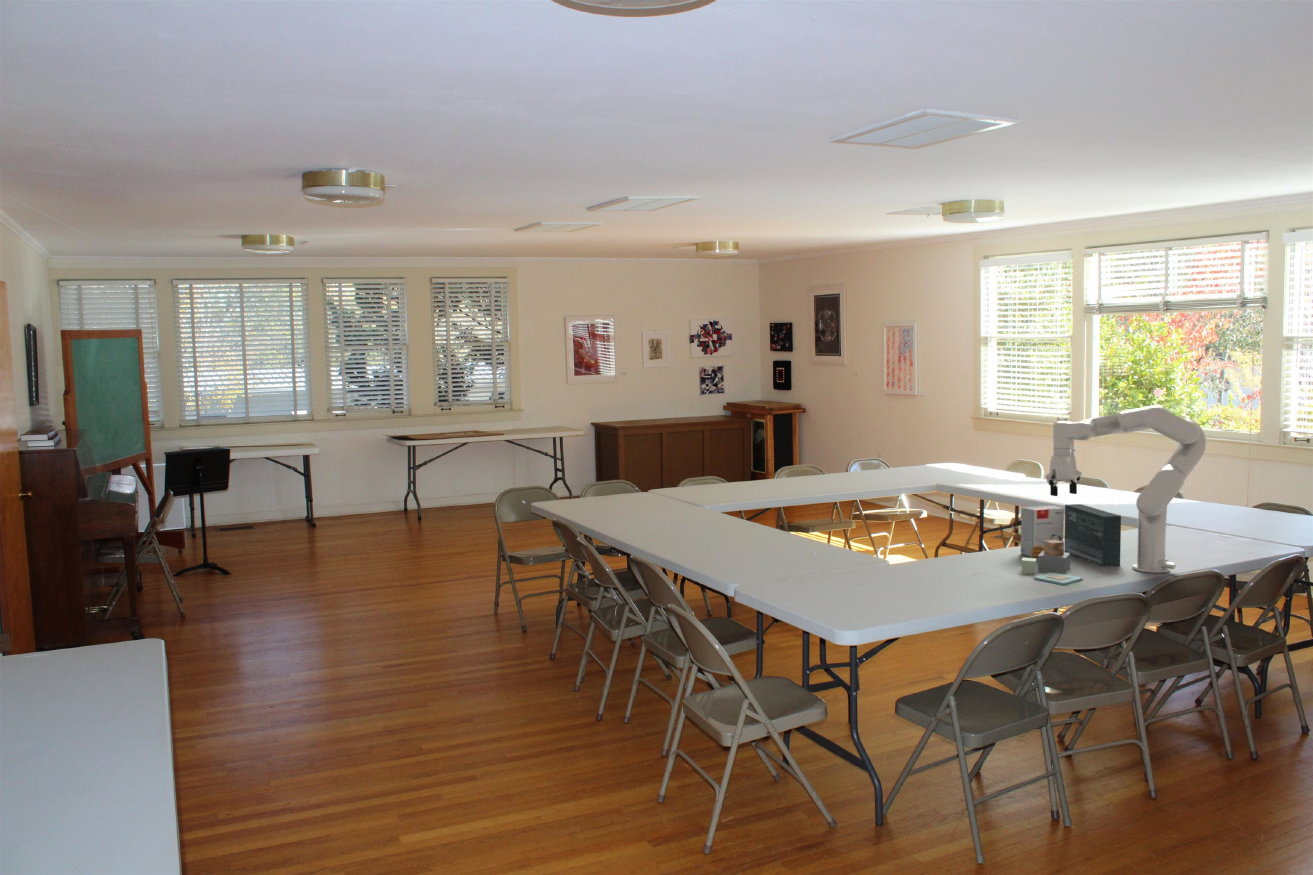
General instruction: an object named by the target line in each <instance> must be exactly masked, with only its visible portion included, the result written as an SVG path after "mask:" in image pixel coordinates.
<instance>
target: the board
mask: <svg viewBox="0 0 1313 875" xmlns="http://www.w3.org/2000/svg"><path fill="white" fill-rule="evenodd" d="M1033 578H1034V580H1035V579H1036V580H1035V581H1040V580H1042V581H1041V582H1046V583H1052V584H1055V583H1056V585H1060V586H1067V585H1071V584H1074V583H1077V582H1080V581H1083V577H1080V576H1073V575H1070V574H1064V573H1060V572H1053V571H1050V572H1048V573H1045V574H1041V575H1037V576H1034V577H1033Z"/></svg>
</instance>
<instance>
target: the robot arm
mask: <svg viewBox="0 0 1313 875" xmlns="http://www.w3.org/2000/svg"><path fill="white" fill-rule="evenodd" d="M1052 425H1053V428H1052V430H1053V431H1052V432H1053V433H1052V434H1053V435H1052V436H1053V440H1052V441H1053V446H1052V447H1053V448H1052V450H1053V451H1052V453H1053V455H1052V456H1050V457H1051V458H1050V462H1049V463H1050V464H1049V472H1048V473H1047V474H1045V479H1046V482H1047V484H1048V485H1049V486H1050V489H1049V490H1050V491H1049V492H1050V496H1052V497H1058V494H1059V492H1058V491H1059V490H1058V484H1059V482H1064V481H1065V482H1066V481H1069V482H1070V483H1069V494H1072V495H1077V493H1078V488H1077V487H1078V486H1077V485H1078V484H1079V481H1080V480H1081V477H1082V472H1081V471H1079V470H1078V469H1077V460H1076V456H1075V452H1076V449H1075V440H1077V441H1088V440H1090V439H1091V438H1096V437H1101V436H1106V435H1111V434H1121V435H1124V434H1129V433H1133V432H1139V431H1145V430H1153V431H1156V432H1157V433H1159V434H1161V435H1163V436H1164V437H1167V438H1168V439H1171V440H1172V441H1174V442H1176V443H1179V444H1178V446H1177V448H1176V450H1175V451H1173V454H1172V455H1171V457H1170V458H1169V459H1168V460H1167V462H1166V463H1165V464H1164V465H1163V466H1162V467H1161V468H1160V469H1159V470H1157V472H1156V473H1155V475H1154V476H1153V477H1152V479H1151V480H1150V481H1149V482H1148V484H1147V485H1146V486H1145V488H1144V489H1143V490H1142V491H1141V492H1140V493H1139V494H1138V497H1137V498H1136V501H1135V502H1136V508H1137V511H1138V515H1137V518H1138V519H1137V547H1136V548H1137V550H1136V552H1137V554H1136V563H1134V564H1133V565H1132V569H1134V570H1135V571H1139V572H1142V573H1149V574H1164V573H1168V572H1170V569H1171V570H1175V569H1176V566H1177V565H1176V564H1175V563H1173V562H1169V559H1168V558H1166V546H1167V545H1166V543H1167V542H1166V539H1167V538H1166V537H1167V514H1168V513H1167V511H1168V505H1169V504H1170V503H1171V501H1172V500H1173V499H1174V497H1175V496H1176V495H1177V494H1179V491H1180V490H1181V489H1182V488H1183V486H1184V483H1185V481H1186V479H1187V478H1188V477H1189V475H1190V474H1191V472H1192V471H1193V470H1194V469H1195V467H1196V466H1197V464H1198V463H1199V462H1200V460H1201V459H1202V457H1203V455H1204V454H1205V450H1206V446H1207V439H1206V435H1205V432H1204V430H1203V428H1202V427H1201V425H1200V424H1199V423H1198V422H1196V421H1195V420H1192V419H1185V418H1182V417H1181V416H1178V415H1177V414H1175V413H1172V412H1171V411H1169V409H1168V408H1167V407H1166V406H1164V405H1161V404H1154V405H1148V406H1143V407H1139V408H1138V407H1137V408H1133V409H1128V410H1123V411H1119V412H1115V413H1113V414H1108V415H1103V416H1097V417H1093V418H1088V419H1083V420H1080V421H1076V422H1073V421H1070V420H1059V421H1058V420H1057V421H1055V422H1054V423H1053V424H1052Z"/></svg>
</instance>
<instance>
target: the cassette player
mask: <svg viewBox="0 0 1313 875" xmlns="http://www.w3.org/2000/svg"><path fill="white" fill-rule="evenodd" d="M1064 505H1065V506H1064V552H1065V551H1066V552H1065V553H1067V552H1068V553H1071V554H1070V555H1072V554H1074V555H1073V556H1075V555H1076V556H1075V557H1077V556H1078V558H1080V557H1081V558H1080V559H1082V558H1083V559H1082V560H1086V561H1087V560H1089V561H1088V562H1090V563H1093V564H1095V563H1096V564H1095V565H1097V564H1098V566H1101V567H1102V566H1103V568H1105V566H1109V567H1120V566H1121V546H1122V545H1121V538H1122V537H1121V535H1122V516H1121V515H1119V514H1115V513H1112V512H1108V511H1106V510H1102V509H1099V508H1095V507H1092V506H1088V505H1085V504H1082V503H1080V504H1077V503H1076V504H1064Z"/></svg>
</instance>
